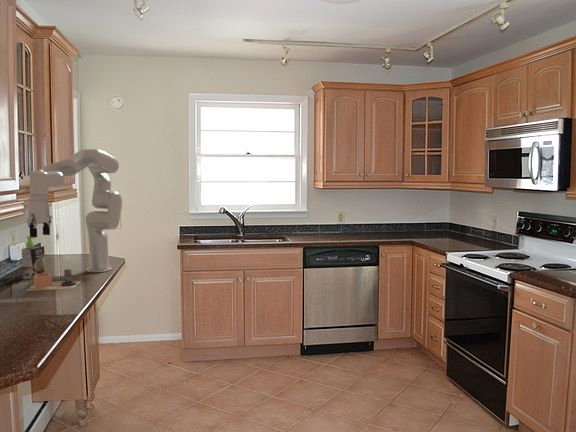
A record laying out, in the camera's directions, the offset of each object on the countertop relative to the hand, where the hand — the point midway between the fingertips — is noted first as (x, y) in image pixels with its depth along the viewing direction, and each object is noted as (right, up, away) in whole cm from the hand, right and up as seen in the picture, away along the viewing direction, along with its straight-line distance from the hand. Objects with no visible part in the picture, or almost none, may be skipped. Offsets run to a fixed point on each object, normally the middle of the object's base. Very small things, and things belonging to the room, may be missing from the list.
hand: (40, 235), depth 240 cm
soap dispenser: (-18, -21, +30) cm, 41 cm away
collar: (+1, -23, 0) cm, 23 cm away
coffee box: (-11, -23, +19) cm, 31 cm away
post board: (+6, -24, +1) cm, 25 cm away
